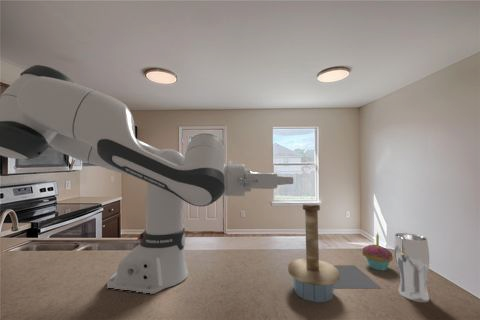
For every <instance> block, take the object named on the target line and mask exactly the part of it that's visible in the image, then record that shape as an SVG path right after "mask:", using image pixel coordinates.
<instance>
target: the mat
mask: <svg viewBox="0 0 480 320" xmlns="http://www.w3.org/2000/svg"><path fill="white" fill-rule="evenodd" d="M332 265H333V264H332ZM333 266H334V267H336V268H337V269H338V271H339V276H340V278H339V280H338V282H336V283H334V290H337V289H340V290H341V289H342V290H343V289H348V290H349V289H352V290H353V289H354V290H355V289H357V290H359V289H363V290H364V289H365V290H367V289H371V290H373V289H375V290H377V289H379V290H380V289H383V287H382V286H380V285H378V284H377V282H375V281H374V280H373V279H372V278H371V277H370V276H368V275H367V274H366V273H365V272H364V271H362V270H361V269H360V268H358V266H356V265H348V264H347V265H344V264H343V265H341V264H339V265H338V264H335V265H333Z"/></svg>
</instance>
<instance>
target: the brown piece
mask: <svg viewBox="0 0 480 320" xmlns="http://www.w3.org/2000/svg"><path fill="white" fill-rule="evenodd" d="M302 210H304V215H305V217H304V219H305V222H304V223H305V225H304V226H305V255H306V257H305V258H297V259H294V260H292V261H290V262H288V265H287V271H288V274H289V275H290V276H291V277H292V278H295V279H296V280H298V281H301V282H303V283H307V284H311V285H321V286H323V285H331V284H334V283H336V282H338V280H339V278H340V276H339V271H338V269H337V268H336V267H334V266H333V264H331V263H329V262H326V261H324V260H320V258H319V257H320V256H319V255H320V250H319V222H318V221H319V217H318V212H319V211H320V210H321V206H320V204H319V203H303V204H302Z"/></svg>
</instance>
